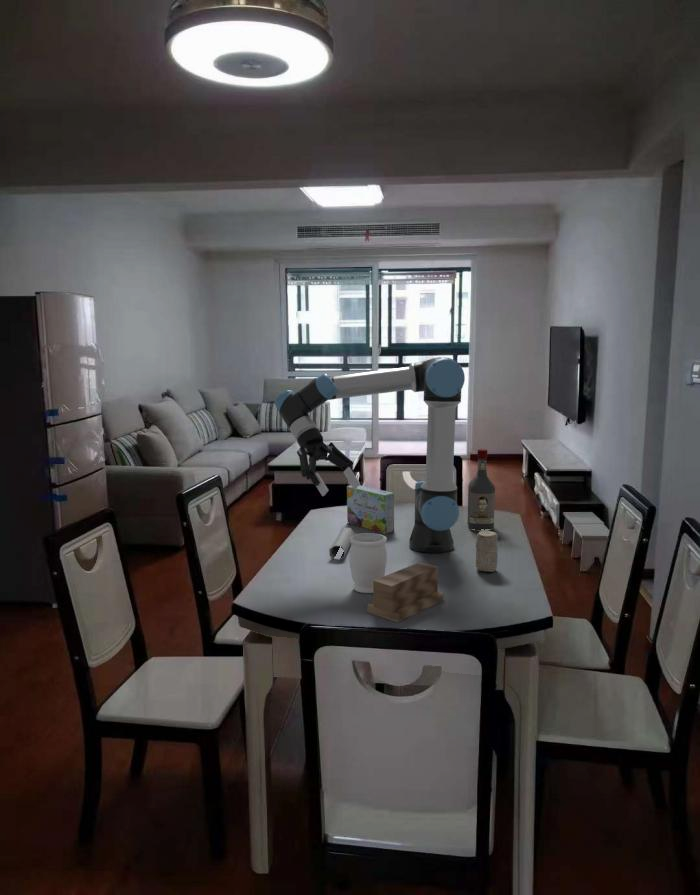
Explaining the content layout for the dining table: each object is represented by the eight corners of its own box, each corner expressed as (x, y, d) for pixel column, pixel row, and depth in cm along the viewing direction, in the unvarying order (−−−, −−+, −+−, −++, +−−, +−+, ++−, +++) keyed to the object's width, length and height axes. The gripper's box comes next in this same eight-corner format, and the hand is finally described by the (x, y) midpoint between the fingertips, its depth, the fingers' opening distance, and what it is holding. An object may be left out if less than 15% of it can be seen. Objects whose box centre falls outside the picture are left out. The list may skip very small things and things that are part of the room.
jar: (377, 580, 197) (378, 531, 194) (392, 592, 187) (392, 540, 185) (344, 585, 193) (343, 534, 191) (357, 597, 183) (357, 544, 181)
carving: (500, 569, 206) (501, 531, 204) (491, 575, 200) (492, 537, 198) (481, 565, 210) (482, 528, 208) (471, 572, 204) (472, 534, 202)
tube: (338, 527, 240) (326, 547, 215) (352, 523, 239) (342, 543, 215) (343, 541, 240) (332, 563, 216) (357, 537, 240) (347, 558, 215)
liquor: (466, 524, 258) (468, 448, 253) (490, 525, 257) (492, 448, 253) (470, 531, 249) (471, 451, 244) (494, 531, 248) (497, 451, 244)
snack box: (346, 523, 260) (345, 485, 258) (356, 521, 264) (356, 483, 262) (384, 534, 245) (384, 494, 243) (395, 531, 249) (395, 492, 246)
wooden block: (413, 591, 188) (414, 560, 186) (443, 600, 181) (444, 568, 180) (367, 612, 173) (367, 578, 172) (397, 622, 166) (398, 588, 165)
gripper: (329, 438, 216) (362, 491, 208) (270, 446, 198) (304, 504, 190) (341, 423, 212) (376, 476, 204) (282, 430, 193) (318, 488, 186)
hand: (341, 490), depth 197 cm, fingers open, 13 cm apart
